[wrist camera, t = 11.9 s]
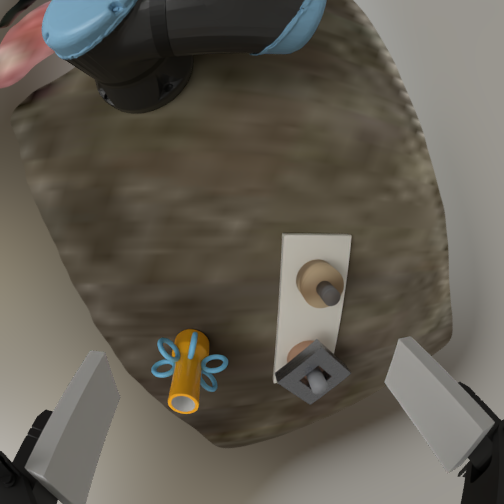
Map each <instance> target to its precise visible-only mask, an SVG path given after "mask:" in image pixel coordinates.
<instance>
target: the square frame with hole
mask: <svg viewBox="0 0 504 504" xmlns="http://www.w3.org/2000/svg"><path fill="white" fill-rule="evenodd" d="M318 365H319V366H320V367H321V368H322V369H323V370H324V371H323V372H322V374H323V376H324V378H325V380H326V382H327V384H328V389H327V391H325V392H324V393H322V394H314V393H313V391H312V389H311V386H310V384H309V382H308V380H307V379H305V378H304V376H306V375H307V374H308V373H310V372H311V371H312V370H313V369H315V368H316V367H317V366H318ZM350 374H351V372H350V371H349V369H348V368H347V366H346V365H345V364H344V363H343V362H342V361H341V360H340V359H339V358H338V357H336V356H335V355H334V354H333V353H332V352H331V351H330V350H329V349H328V348H327V347H325V346H324V345H323V344H322V343H321V342H320V341H319V340H318V339H316V340H315V341H314V342H312V343H311V344H310V345H309V346H308V347H306V348H305V349H304V350H303V351H302V352H300V353H299V354H298V355H297V356H296V357H294V358H293V359H292V360H291V361H289V362H288V363H287V364H286V365H284V366H283V367H282V368H280V369H279V370H278V371H277V372H275V376H276V380H277V383H278V384H280V385H281V386H283V387H284V388H286V389H287V390H289V391H290V392H292V393H293V394H295V395H296V396H298V397H299V398H301V399H302V400H304V401H305V402H307V403H309V404H310V405H311V404H312V403H313V402H315V401H316V400H318V399H319V398H320V397H322V396H323V395H324V394H326V393H327V392H328V391H330V390H331V389H332V388H334V387H335V386H336V385H337V384H339V383H340V382H341V381H342V380H344V379H345V378H346V377H347V376H349V375H350Z"/></svg>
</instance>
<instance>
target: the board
mask: <svg viewBox="0 0 504 504" xmlns="http://www.w3.org/2000/svg"><path fill="white" fill-rule="evenodd" d="M350 246H351V235H349V234H313V233H282V249H281V269H280V287H279V303H278V318H277V333H276V346H275V359H274V371H273V382H274V383H277V380H276V376H275V372H277V371H278V370H279V369H280V368H282V367H283V366H284V365H286V364H287V356H288V353H289V352H290V350H291V349H292V348H293V347H294V346H295V345H297V344H298V343H301V342H303V341H310V340H311V341H315V340H316V339H318V340H319V341H320V342H321V343H322V344H323V345H324V346H325V347H327V348H328V349H329V350H330V351H331V352H332V353H333V354H334V351H335V346H336V341H337V336H338V331H339V325H340V319H341V314H342V307H343V301H344V294H345V287H346V280H347V273H348V264H349V256H350ZM315 259H320V260H324V261H326V262H328V263H329V264H330V265H331V266H332V267H334V268H335V269H336V270H337V271H338V272H339V273H340V274H341V275H342V277H343V281H344V289H343V292H342V294H341V297H340V301H339V302H338V303H337V304H336V305H334V306H329V307H326V308H315V307H312V306H310V305H309V304H308V303H307V302H306V301H305V299H304V298H303V296H302V294H301V293H300V291H299V290H298V288H297V285H296V277H297V274H298V271H299V270H300V268H301V267H302V266H303V265H304V264H305V263H307V262H309V261H311V260H315Z"/></svg>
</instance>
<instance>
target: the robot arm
mask: <svg viewBox="0 0 504 504" xmlns="http://www.w3.org/2000/svg"><path fill="white" fill-rule="evenodd" d="M326 1H327V0H52V1H51V3H50V5H49V6H48V8H47V10H46V13H45V15H44V19H43V23H42V36H43V39H44V41H45V43H46V44H47V45H48V46H49V47H50V48H51V49H53V50H54V51H55V53H56V54H57V55H58V56H59V57H60V58H61V59H64V60H66V61H68V62H69V63H71V64H72V65H74V66H75V67H77V68H78V69H80V70H81V71H83V72H84V73H86V74H88V75H89V76H91V77H92V78H94V79H95V82H96V85H97V88H98V91H99V93H100V95H101V97H102V98H103V99H104V100H105V101H106V102H107V103H108V104H109V105H111V106H112V107H114V108H116V109H118V110H120V111H123V112H127V113H144V112H149V111H152V110H155V109H157V108H159V107H162V106H163V105H165V104H167V103H168V102H170V101H171V100H172V99H174V98H175V97H176V96H177V95H178V94H179V93H180V92H181V91H182V89H183V88H184V87H185V85H186V84H187V82H188V80H189V78H190V75H191V72H192V68H193V56H192V55H199V54H219V53H249V54H250V55H255V56H258V55H262V54H290V53H292V52H295V51H297V50H299V49H301V48H302V47H303V46H304V45H305V44H306V43H307V42H308V41H309V40H310V39H311V37H312V36H313V34H314V33H315V31H316V29H317V27H318V25H319V23H320V20H321V18H322V15H323V13H324V9H325V6H326ZM385 384H386V385H387V387H388V388H389V389H390V391H391V392H392V394H393V395H394V396H395V398H396V399H397V401H398V402H399V403H400V405H401V406H402V408H403V409H404V410H405V412H406V413H407V415H408V416H409V418H410V419H411V420H412V422H413V423H414V425H415V426H416V427H417V429H418V431H419V432H420V433H421V435H422V436H423V438H424V439H425V441H426V442H427V444H428V445H429V446H430V448H431V450H432V451H433V452H434V454H435V456H436V457H437V459H438V460H439V461H440V463H441V465H442V466H443V468H444V469H445V471H446V472H447V473H450V472H451V471H453V470H454V469H456V468H457V467H459V466H461V464H462V463H463V462H464V461H465V460H466V459H467V458H469V460H470V461H469V462H468V463H467V465H465V467H464V468H463V469H462V470H461V471H460V472H459V474H458V477H459V476H461V475H462V473H464V472H465V471H466V473H465V474H464V475H463V477H465V483H464V489H463V494H462V500H461V504H504V420H502V421H501V420H500V419H499V418H498V417H497V416H496V415H495V414H494V413H493V412H492V410H491V409H490V408H489V407H488V406H487V405H486V404H485V403H484V402H483V401H481V399H480V398H479V397H478V396H477V395H475V393H474V392H473V391H472V390H471V388H469V387H468V386H466V385H465V384H463V383H461V382H459V383H457V382H456V381H455V379H454V378H452V377H451V375H450V374H449V373H447V371H445V369H444V368H443V367H442V366H441V365H440V364H439V363H438V362H437V361H436V360H435V359H434V358H433V357H432V356H431V355H430V354H428V353H427V352H426V351H425V350H424V349H423V348H422V347H421V346H420V345H419V344H418V343H417V342H416V341H415V340H414V339H413V338H412V337H411V336H410V337H405V338H400V339H399V340H398V343H397V346H396V350H395V353H394V356H393V359H392V362H391V365H390V368H389V371H388V374H387V376H386V379H385ZM119 400H120V395H119V393H118V390H117V387H116V384H115V381H114V378H113V375H112V372H111V369H110V366H109V363H108V360H107V356H106V353H105V352H100V351H92V350H90V352H89V353H88V355H87V356H86V358H85V360H84V361H83V363H82V364H81V366H80V367H79V369H78V370H77V372H76V374H75V375H74V377H73V379H72V380H71V382H70V383H69V385H68V387H67V389H66V390H65V392H64V393H63V395H62V397H61V399H60V400H59V402H58V404H57V406H56V407H55V409H54V411H53V412H52V411H49V410H45V411H44V412H42V413H41V414H40V415H39V416H37V418H36V420H35V421H34V423H33V425H32V428H30V430H29V432H28V436H26V438H25V439H24V441H23V443H22V445H21V447H20V449H19V451H18V452H17V454H16V457H15V458H14V461H13V462H11V461H10V460H9V459H8V458H7V457H6V455H5V454H4V453H2V451H0V504H57V500H59V501H60V502H61V503H63V504H86V501H87V497H88V493H89V490H90V486H91V483H92V479H93V476H94V473H95V469H96V466H97V463H98V460H99V457H100V453H101V450H102V447H103V444H104V441H105V438H106V436H107V432H108V430H109V427H110V424H111V421H112V418H113V416H114V413H115V410H116V408H117V405H118V402H119Z"/></svg>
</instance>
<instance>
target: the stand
mask: <svg viewBox="0 0 504 504" xmlns="http://www.w3.org/2000/svg"><path fill="white" fill-rule="evenodd" d="M296 285H297V288H298V290H299V291H300V293H301V294H302V296H303V298H304V299H305V301H306V302H307V303H308V304H309V305H310V306H312V307H315V308H326V307H329V306H334V305H336V304H337V303H338V302H339V301H340V297H341V294H342V292H343V289H344V281H343V277H342V275H341V274H340V273H339V272H338V271H337V270H336V269H335V268H334V267H332V266H331V265H330V264H329V263H328V262H326V261H324V260H320V259H315V260H311V261H309V262H307V263H305V264H304V265H303V266H302V267H301V268H300V270H299V271H298V274H297V277H296Z"/></svg>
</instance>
